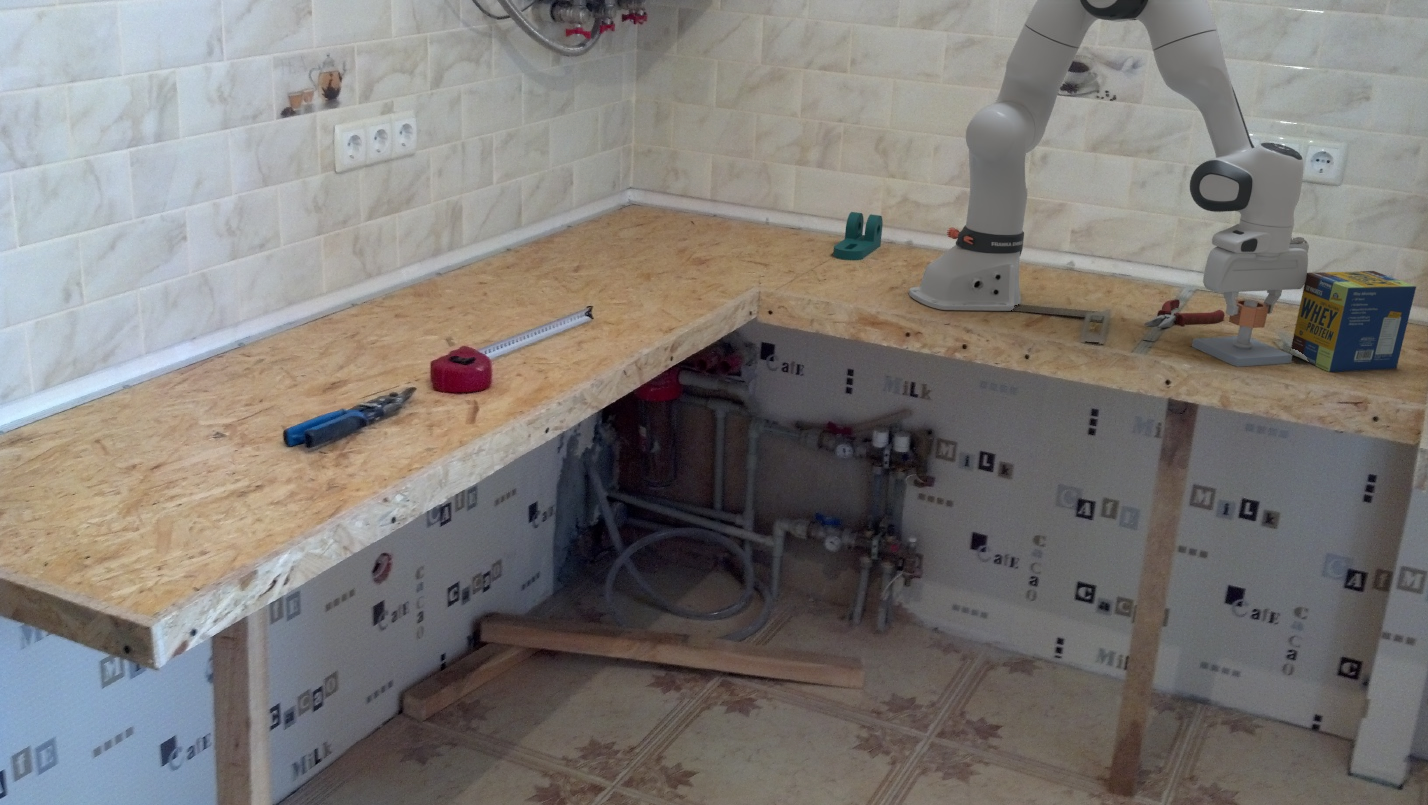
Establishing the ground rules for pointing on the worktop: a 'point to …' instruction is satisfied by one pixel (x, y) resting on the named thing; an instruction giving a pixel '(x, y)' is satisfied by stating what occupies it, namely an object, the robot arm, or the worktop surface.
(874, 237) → the bracket
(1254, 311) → the ring
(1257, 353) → the shaft block
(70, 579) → the worktop surface
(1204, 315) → the pliers
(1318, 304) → the protein box
